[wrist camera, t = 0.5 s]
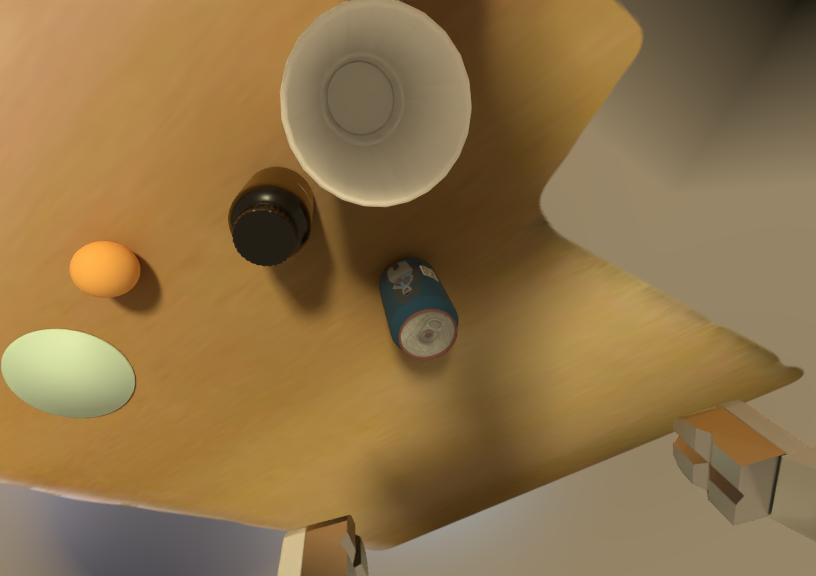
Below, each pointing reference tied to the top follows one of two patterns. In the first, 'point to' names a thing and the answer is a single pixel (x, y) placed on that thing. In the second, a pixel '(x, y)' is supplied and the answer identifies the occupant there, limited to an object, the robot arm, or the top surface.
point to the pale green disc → (68, 373)
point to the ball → (105, 269)
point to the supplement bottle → (272, 216)
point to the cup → (375, 102)
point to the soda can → (418, 309)
